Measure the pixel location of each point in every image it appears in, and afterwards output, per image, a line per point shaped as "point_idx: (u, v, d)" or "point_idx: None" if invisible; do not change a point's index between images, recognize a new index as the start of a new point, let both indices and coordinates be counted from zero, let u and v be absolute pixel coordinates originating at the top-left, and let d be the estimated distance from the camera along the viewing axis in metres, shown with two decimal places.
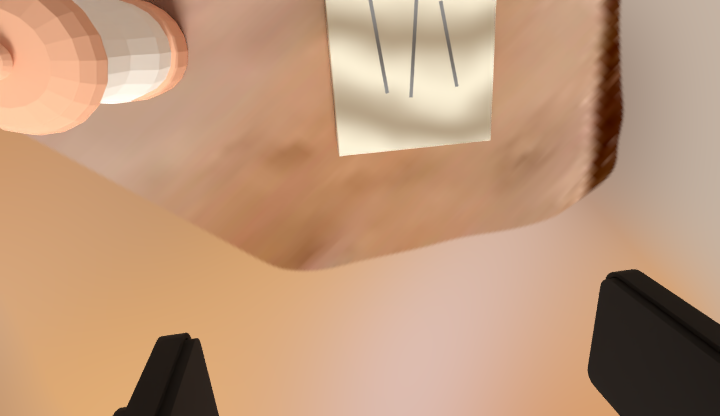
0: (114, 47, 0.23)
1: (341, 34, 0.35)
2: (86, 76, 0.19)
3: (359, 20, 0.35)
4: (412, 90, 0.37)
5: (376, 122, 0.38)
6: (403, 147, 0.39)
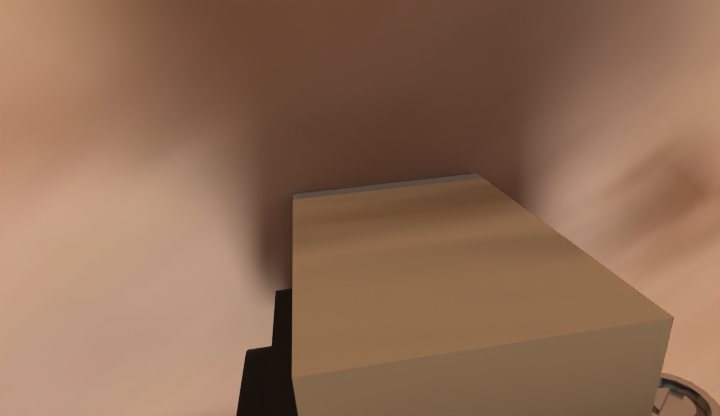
0: None
1: None
2: None
3: None
4: None
5: None
6: None
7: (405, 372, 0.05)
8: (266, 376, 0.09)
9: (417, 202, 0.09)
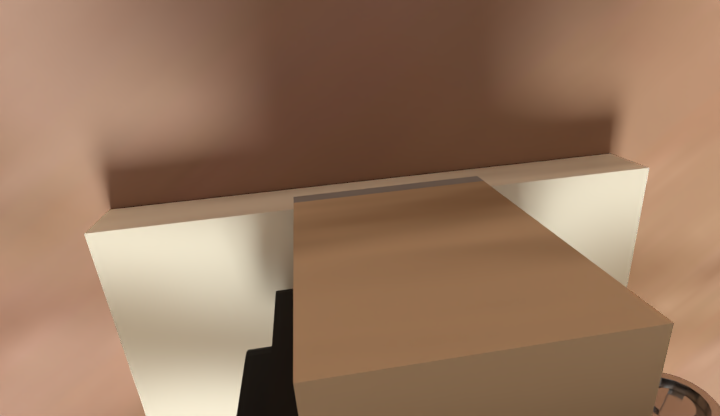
0: None
1: None
2: None
3: None
4: None
5: None
6: None
7: (406, 377, 0.05)
8: (266, 376, 0.09)
9: (417, 205, 0.09)
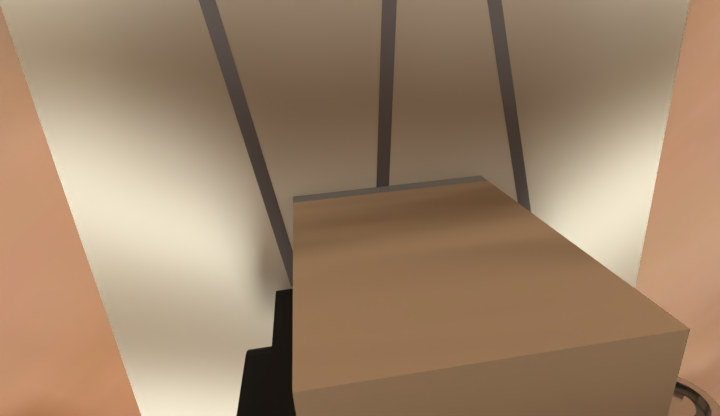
0: None
1: (88, 95, 0.09)
2: None
3: (157, 40, 0.08)
4: None
5: None
6: None
7: (410, 387, 0.05)
8: (266, 376, 0.09)
9: (420, 206, 0.09)
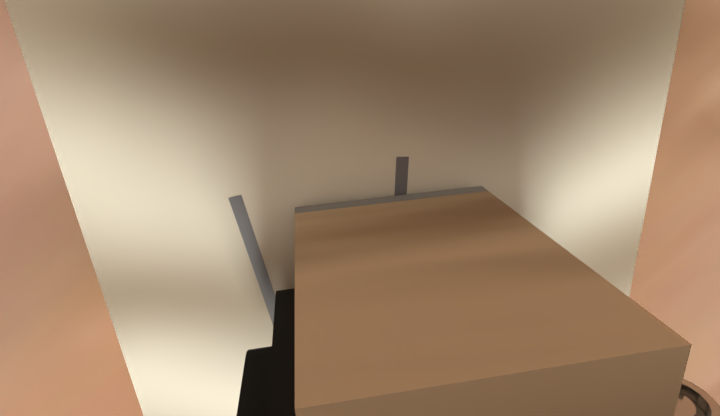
0: None
1: (156, 319, 0.11)
2: None
3: (213, 279, 0.11)
4: None
5: None
6: None
7: (412, 403, 0.05)
8: (266, 376, 0.09)
9: (421, 217, 0.09)
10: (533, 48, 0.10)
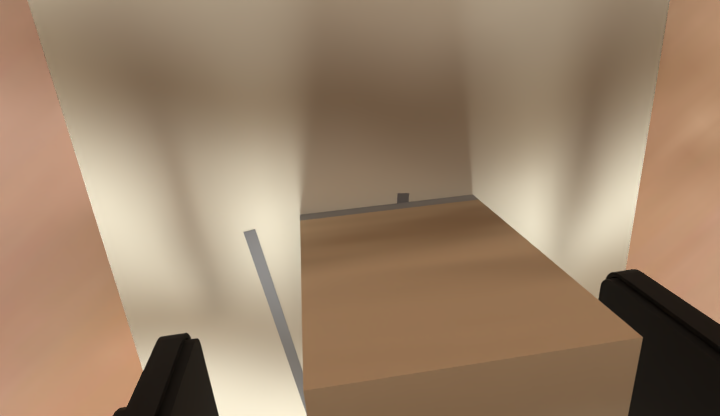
0: None
1: None
2: None
3: (228, 305, 0.12)
4: None
5: None
6: None
7: (402, 386, 0.06)
8: None
9: (416, 224, 0.10)
10: (522, 95, 0.11)
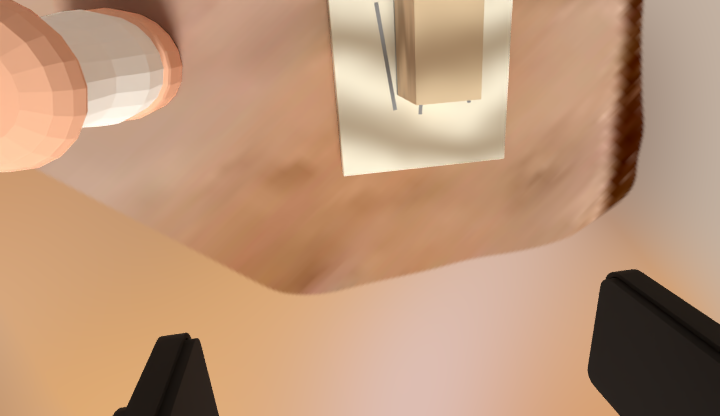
0: (97, 70, 0.21)
1: (346, 48, 0.33)
2: (61, 108, 0.17)
3: (366, 33, 0.33)
4: (422, 106, 0.35)
5: (383, 141, 0.36)
6: (411, 166, 0.37)
7: None
8: None
9: None
10: None
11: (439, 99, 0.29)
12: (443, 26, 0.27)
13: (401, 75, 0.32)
